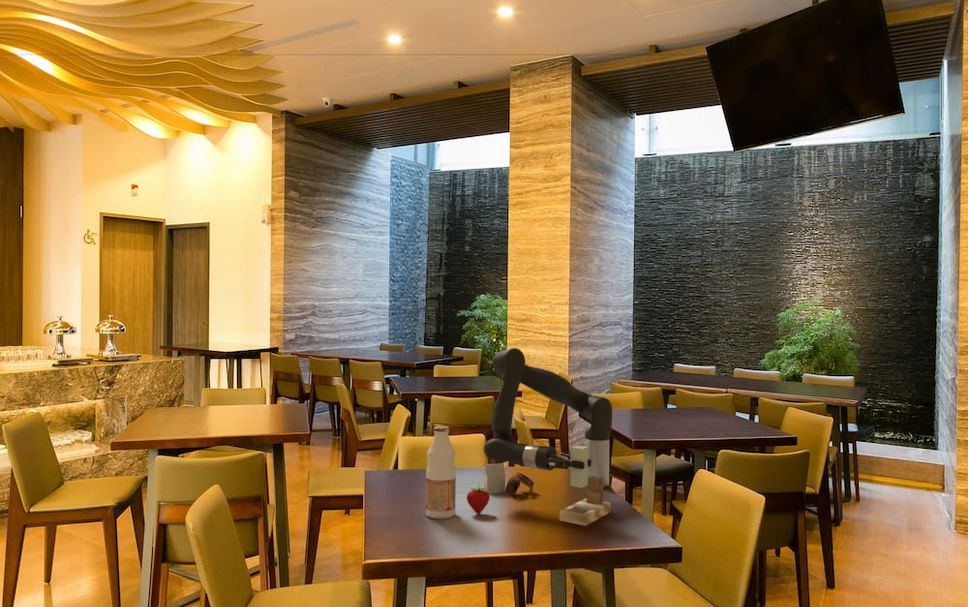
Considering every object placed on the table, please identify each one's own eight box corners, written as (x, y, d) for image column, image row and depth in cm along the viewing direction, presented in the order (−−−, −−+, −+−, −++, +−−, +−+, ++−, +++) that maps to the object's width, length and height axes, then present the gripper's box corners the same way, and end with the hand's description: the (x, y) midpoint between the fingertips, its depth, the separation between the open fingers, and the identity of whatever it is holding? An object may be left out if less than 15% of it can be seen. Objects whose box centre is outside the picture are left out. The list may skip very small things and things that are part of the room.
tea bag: (505, 492, 247) (505, 464, 247) (487, 493, 245) (487, 465, 245) (502, 489, 250) (502, 462, 251) (484, 491, 249) (484, 463, 249)
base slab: (585, 507, 229) (585, 474, 229) (610, 512, 223) (610, 478, 224) (559, 520, 214) (559, 485, 214) (585, 525, 209) (586, 489, 209)
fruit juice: (433, 521, 212) (434, 430, 213) (421, 513, 220) (421, 426, 221) (460, 516, 217) (461, 428, 217) (447, 509, 225) (448, 423, 225)
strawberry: (464, 512, 222) (464, 481, 222) (486, 510, 224) (487, 479, 224) (469, 517, 216) (469, 485, 216) (491, 515, 218) (492, 484, 218)
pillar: (576, 483, 218) (576, 445, 218) (587, 485, 216) (588, 447, 216) (570, 485, 215) (570, 447, 215) (581, 487, 212) (582, 449, 212)
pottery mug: (507, 490, 252) (519, 470, 252) (528, 505, 248) (540, 485, 248) (496, 489, 241) (508, 469, 242) (518, 504, 237) (530, 484, 237)
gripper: (528, 449, 218) (577, 456, 208) (550, 442, 229) (597, 448, 219) (528, 472, 218) (576, 480, 208) (550, 464, 229) (597, 472, 219)
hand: (587, 464), depth 214 cm, fingers closed on pillar, 4 cm apart
